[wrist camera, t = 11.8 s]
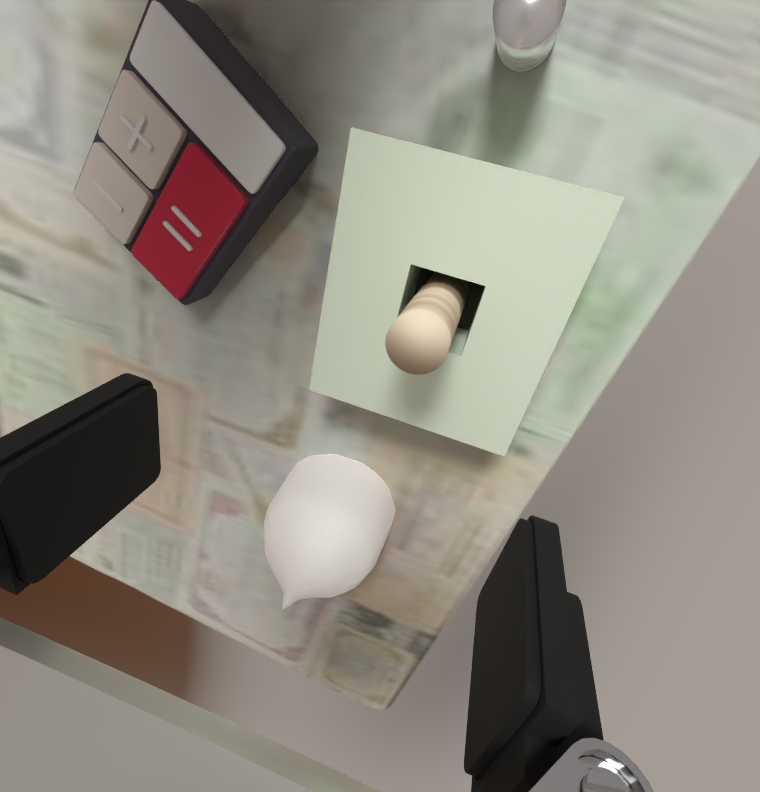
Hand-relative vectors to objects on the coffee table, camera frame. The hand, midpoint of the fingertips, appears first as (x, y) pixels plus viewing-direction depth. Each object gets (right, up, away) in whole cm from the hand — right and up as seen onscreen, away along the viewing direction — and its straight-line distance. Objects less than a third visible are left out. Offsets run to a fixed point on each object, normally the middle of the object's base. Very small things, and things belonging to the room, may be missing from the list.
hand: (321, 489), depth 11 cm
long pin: (+6, +9, +19) cm, 22 cm away
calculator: (-11, +18, +21) cm, 30 cm away
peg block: (+6, +9, +19) cm, 22 cm away
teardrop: (-2, -8, +31) cm, 32 cm away
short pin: (+9, +21, +12) cm, 26 cm away
